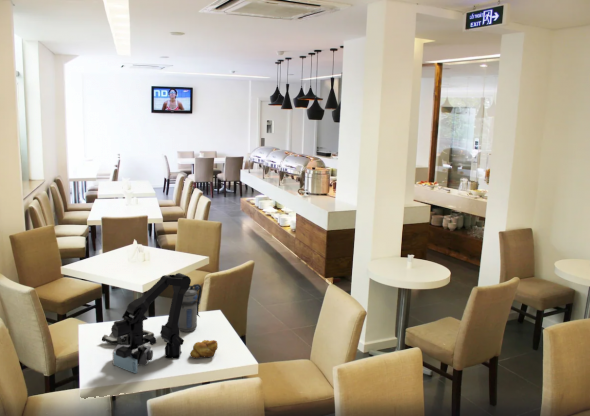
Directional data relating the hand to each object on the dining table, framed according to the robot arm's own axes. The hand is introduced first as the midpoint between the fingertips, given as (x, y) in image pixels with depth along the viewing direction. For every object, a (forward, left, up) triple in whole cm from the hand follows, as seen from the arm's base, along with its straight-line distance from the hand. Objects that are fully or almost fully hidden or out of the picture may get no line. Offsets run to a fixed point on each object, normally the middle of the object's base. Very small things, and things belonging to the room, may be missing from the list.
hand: (136, 363), depth 222 cm
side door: (+5, +1, -2) cm, 6 cm away
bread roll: (-27, -16, -3) cm, 31 cm away
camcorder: (+11, -27, -3) cm, 29 cm away
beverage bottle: (-14, -45, -3) cm, 48 cm away
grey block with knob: (+4, -7, -2) cm, 9 cm away
